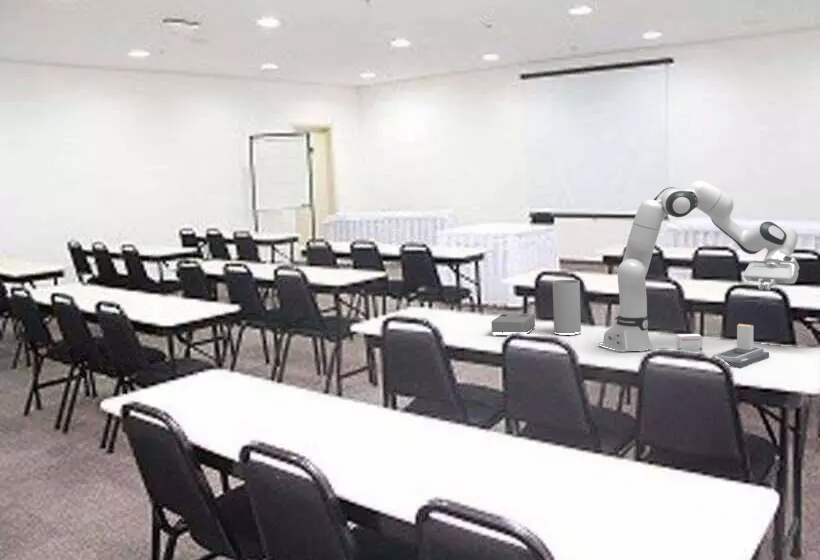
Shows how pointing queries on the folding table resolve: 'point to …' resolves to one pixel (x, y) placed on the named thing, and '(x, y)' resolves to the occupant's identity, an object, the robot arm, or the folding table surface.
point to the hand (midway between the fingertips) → (763, 289)
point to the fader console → (742, 357)
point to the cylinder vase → (566, 306)
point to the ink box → (689, 342)
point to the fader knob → (744, 338)
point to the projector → (513, 323)
